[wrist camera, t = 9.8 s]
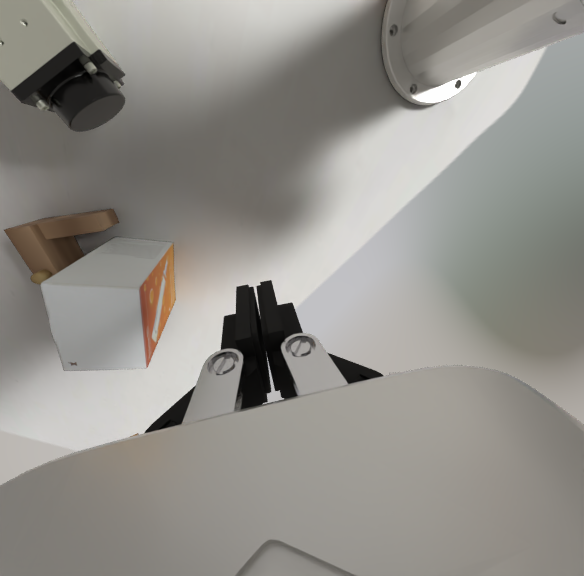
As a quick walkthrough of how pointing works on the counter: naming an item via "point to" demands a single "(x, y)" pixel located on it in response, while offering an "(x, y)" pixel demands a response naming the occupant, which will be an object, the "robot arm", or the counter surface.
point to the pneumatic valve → (58, 62)
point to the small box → (111, 305)
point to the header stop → (56, 240)
